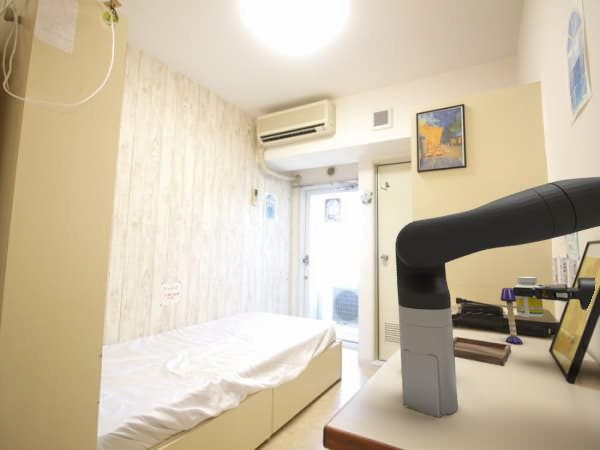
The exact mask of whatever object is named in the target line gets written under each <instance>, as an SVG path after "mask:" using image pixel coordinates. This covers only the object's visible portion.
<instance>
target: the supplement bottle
mask: <svg viewBox="0 0 600 450" xmlns="http://www.w3.org/2000/svg"><path fill="white" fill-rule="evenodd" d="M516 282H517V283H518V284H516V285H515V286H514V287H526V288H532V287H536V288H540V287H539V286H537V285H538V284H537V282H538V279H537V277H535V276H517V277H516ZM515 297H516V302H515V305H516V306H515V307H516V313H517V315H519V316H522V317H530V318H531V317H534V318H535V317H536V318H542V317H544V306H543V299H536V298H533V296H532V297H523V296H515Z"/></svg>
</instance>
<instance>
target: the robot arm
mask: <svg viewBox="0 0 600 450" xmlns="http://www.w3.org/2000/svg"><path fill="white" fill-rule="evenodd" d="M598 227H599V228H600V176H592V177H591V176H590V177H578V178H570V179H569V178H566V179H561V180H556V181H552V182H548V183H545V184H541V185H538V186H535V187H534V186H533V187H531V188H527V189H524V190H520V191H518V192H514V193H513V194H509V195H507V196H504V197H501V198H497V199H495V200H493V201H490V202H488V203H485V204H483V205H481V206H478V207H474V208H473V209H468V210H465V211H461V212H457V213H452V214H447V215H442V216H436V217H431V218H424V219H423V218H422V219H419V220H414V221H411V222H409V223H407V224H405V225H404V226H403V227H402V228H401V229H400V230H399V232H398V234H397V236H396V239H395V249H394V250H395V266H396V288H397V289H396V290H397V304H398V326H399V330H398V331H399V347H400V366H401V367H400V369H401V370H400V371H401V388H402V389H401V390H402V406H404V407H406V408H410V409H413V410H415V411H419V412H422V413H425V414H428V415H430V416H431V415H432V416H434V417H438V418H440V417H442V416H444V415H449V414H453V413H455V412H457V410H458V408H459V405H458V404H459V403H458V388H457V377H456V375H457V374H456V373H457V372H456V357H455V358H454V343H453V338H454V332H453V331H454V330H453V316H452V315H453V314H452V302H451V300H452V299H451V292H450V290H449V286H448V282H447V281H448V279H447V273H446V272H447V270H446V264H447V263H449V262H452V261H455V260H457V259H460V258H464V257H466V256H470V255H473V254H475V253H479V252H483V251H486V250H491V249H498V248H507V247H515V246H521V245H528V244H533V243H538V242H543V241H547V240H551V239H556V238H560V237H563V236H568V235H573V234H575V233H578V232H582V231H585V230H586V231H587V230H589V229H593V228H598ZM595 278H596V277H577V279H576V283H577V284H576V285H577V286H576V287H572V286H571V287H570V286H569V287H568V285H567V284H566V283H558V284H548V283H547V284H543V285H542V284H536V285H537V286H539V287H540V288H536V287H532V288H526V287H515V286H514V287H512V288H513V294H514V296H523V297H532V296H533V298H536V299H542V300H546V301H558V302H561V303H569V302H570V301H569V300H578V301H579V305H580V309H581V310H583V311H587V310H586V309H587V308H588V306H589V304H590V302H591V299H592V296H593V294H594V291H595V284H596V282H595Z"/></svg>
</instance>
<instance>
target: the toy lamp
mask: <svg viewBox="0 0 600 450" xmlns="http://www.w3.org/2000/svg"><path fill="white" fill-rule="evenodd" d="M513 288H514V287H503V288H502V289H501V294H500V301H501V302H506V303H505V304H506V310H507V313H506V314H507V316H508V317H507V320H508V325H509V331H510V332H509V335H510V336H507V337H506V339H505V342H506V344H507V343H508V344H510V345H522V344H523V343H524V342H523V341H522V339H521V338H520V337H519V336H518V334H517V327H516V322H515V320H516V318H515V312H514V310H515V309H514V307H513V306H514V302H515V303H516V297H515V296H514V294H513Z"/></svg>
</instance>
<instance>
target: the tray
mask: <svg viewBox="0 0 600 450" xmlns="http://www.w3.org/2000/svg"><path fill="white" fill-rule="evenodd" d="M453 343H454V351H455V354H454V355H455V358H461V359H465V360H470V361H476V362H482V363H487V364H492V365H497V366H502V367H503V366H505V364H506V362H507V360H508V358H509V356H510V354H511V353H512V347H511V344H509V343H508V344H507V343H501V342H493V341H487V340H481V339H480V340H479V339H474V338H467V337H460V336H453Z"/></svg>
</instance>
